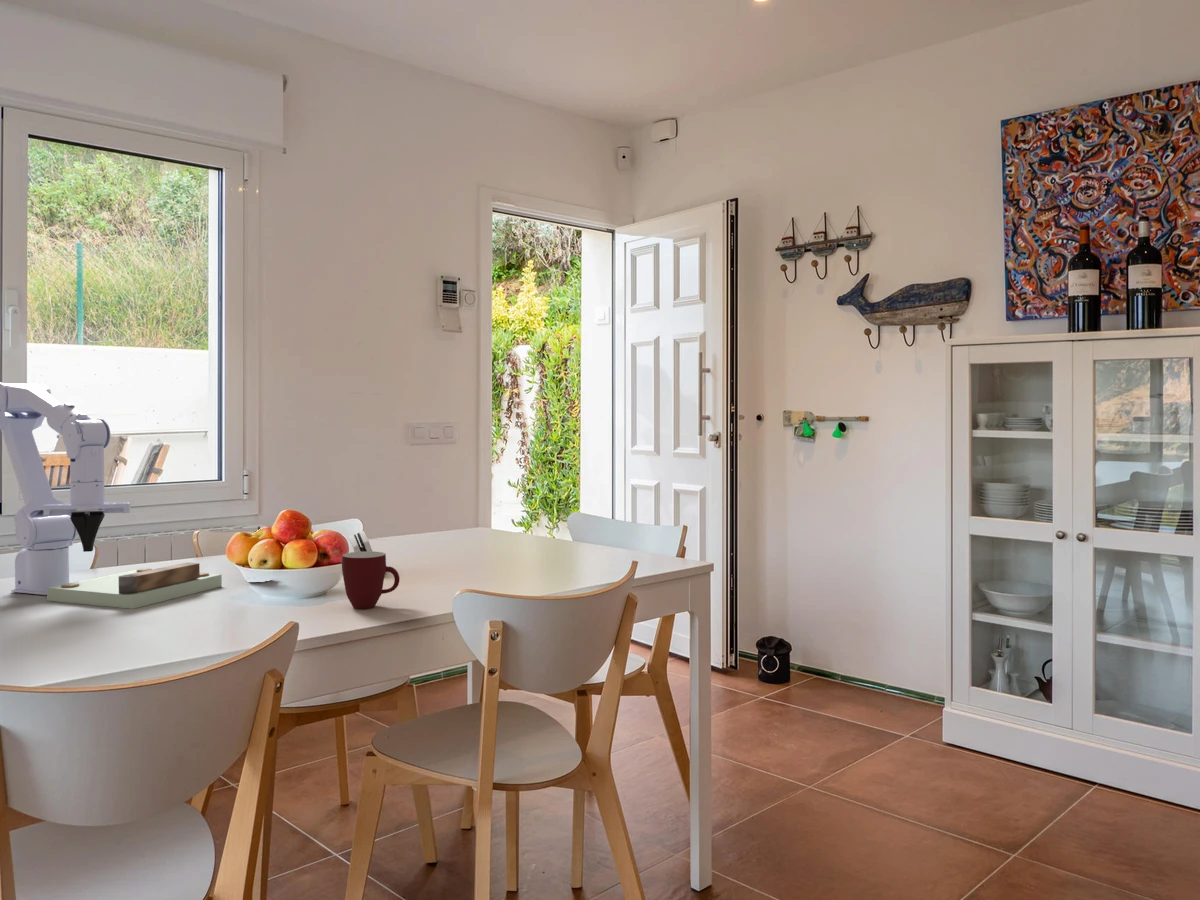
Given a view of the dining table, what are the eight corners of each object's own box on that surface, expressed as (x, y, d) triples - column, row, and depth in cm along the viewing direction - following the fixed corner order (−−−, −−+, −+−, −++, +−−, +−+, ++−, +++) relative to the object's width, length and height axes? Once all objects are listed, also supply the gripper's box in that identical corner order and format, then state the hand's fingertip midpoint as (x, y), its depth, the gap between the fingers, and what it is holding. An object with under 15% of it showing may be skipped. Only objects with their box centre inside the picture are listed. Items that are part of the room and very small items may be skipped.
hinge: (386, 573, 201) (371, 533, 199) (366, 581, 199) (350, 541, 198) (379, 562, 216) (365, 524, 215) (361, 569, 215) (346, 531, 213)
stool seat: (47, 600, 169) (46, 586, 169) (142, 579, 191) (142, 567, 191) (132, 608, 163) (132, 593, 162) (221, 586, 184) (221, 573, 184)
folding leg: (127, 594, 163) (127, 578, 162) (114, 592, 164) (114, 576, 164) (199, 577, 179) (199, 563, 179) (187, 576, 180) (187, 562, 180)
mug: (395, 600, 172) (395, 549, 172) (402, 608, 165) (402, 556, 164) (339, 604, 168) (339, 552, 168) (344, 613, 161) (344, 559, 160)
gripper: (39, 483, 164) (40, 555, 164) (126, 482, 169) (127, 552, 170) (47, 480, 170) (48, 550, 171) (131, 479, 176) (132, 546, 176)
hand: (88, 550), depth 171 cm, fingers closed
